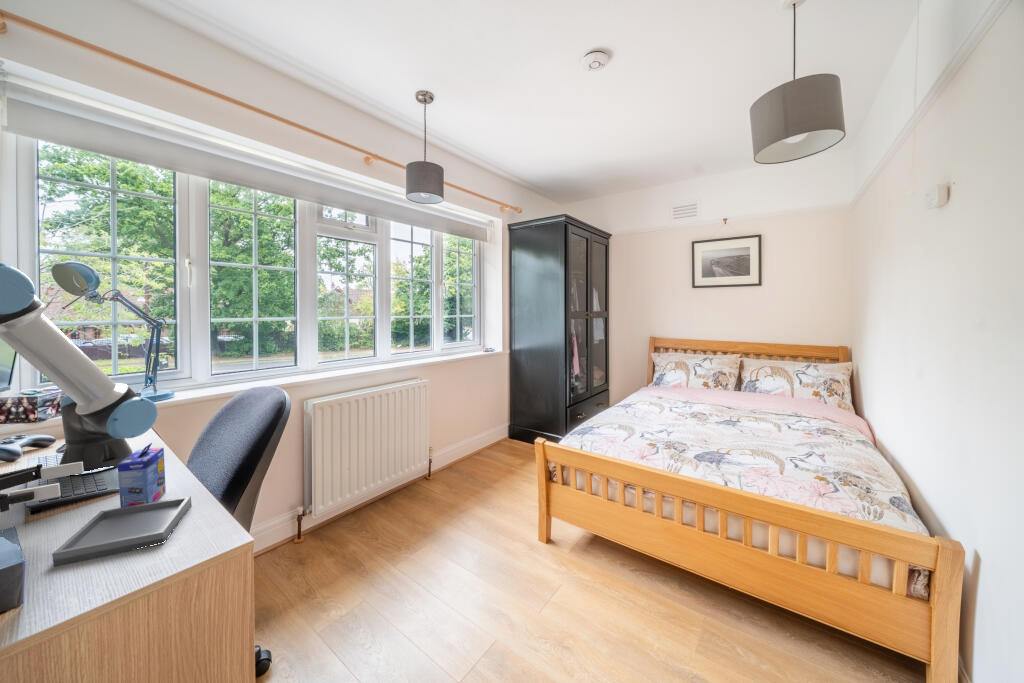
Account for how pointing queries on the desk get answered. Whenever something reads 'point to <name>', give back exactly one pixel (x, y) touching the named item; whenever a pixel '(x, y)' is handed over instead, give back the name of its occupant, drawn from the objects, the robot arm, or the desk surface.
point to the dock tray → (123, 530)
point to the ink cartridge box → (142, 477)
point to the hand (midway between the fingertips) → (72, 477)
